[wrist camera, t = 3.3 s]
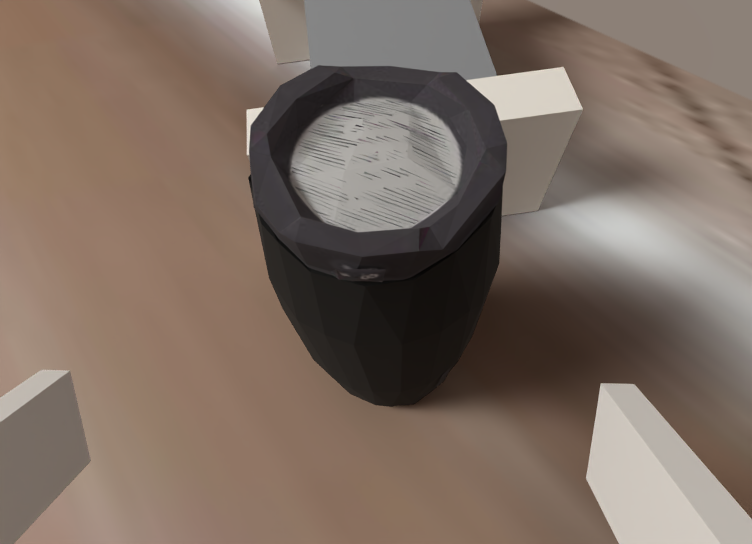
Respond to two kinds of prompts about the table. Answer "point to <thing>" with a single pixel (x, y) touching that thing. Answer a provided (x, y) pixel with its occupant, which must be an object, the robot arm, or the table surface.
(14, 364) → the table surface
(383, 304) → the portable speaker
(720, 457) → the table surface
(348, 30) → the square spool
